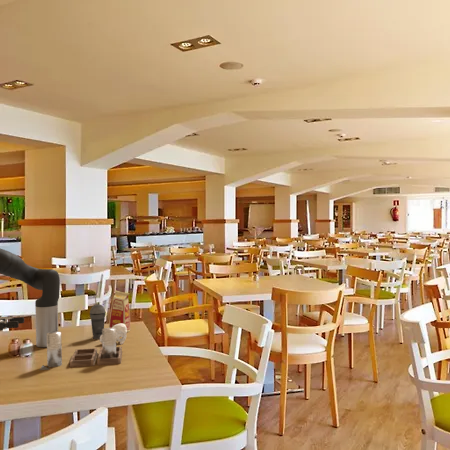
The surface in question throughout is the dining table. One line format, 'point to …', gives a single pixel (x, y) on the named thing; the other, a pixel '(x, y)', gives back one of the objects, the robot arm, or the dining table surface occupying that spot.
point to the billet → (109, 342)
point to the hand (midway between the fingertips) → (21, 322)
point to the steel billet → (54, 349)
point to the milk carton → (120, 310)
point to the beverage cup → (97, 319)
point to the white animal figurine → (119, 333)
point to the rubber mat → (44, 368)
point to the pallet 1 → (83, 357)
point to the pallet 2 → (110, 360)
